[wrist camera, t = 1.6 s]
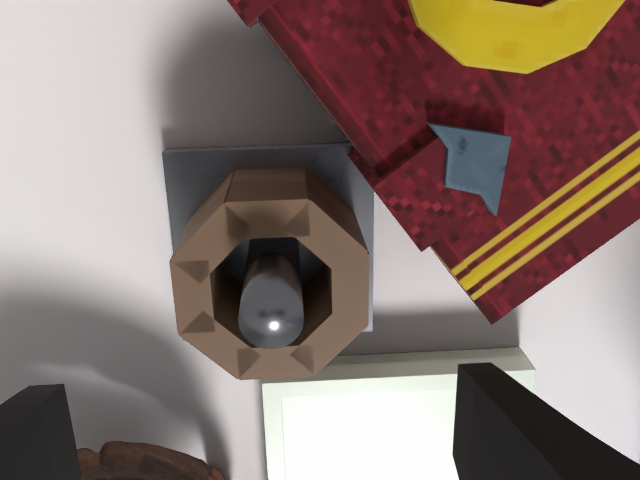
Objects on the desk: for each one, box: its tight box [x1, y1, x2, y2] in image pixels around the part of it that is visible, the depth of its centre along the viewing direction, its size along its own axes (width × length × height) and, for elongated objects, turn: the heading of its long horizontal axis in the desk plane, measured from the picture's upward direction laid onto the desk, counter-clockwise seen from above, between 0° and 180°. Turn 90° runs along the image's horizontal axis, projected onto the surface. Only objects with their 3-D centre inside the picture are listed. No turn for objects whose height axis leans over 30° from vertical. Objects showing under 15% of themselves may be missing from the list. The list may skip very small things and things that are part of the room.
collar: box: [170, 167, 369, 380], centre depth 18 cm, size 5×5×4 cm
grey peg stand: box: [162, 143, 374, 349], centre depth 17 cm, size 6×6×6 cm
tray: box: [262, 347, 536, 480], centre depth 23 cm, size 9×9×2 cm
